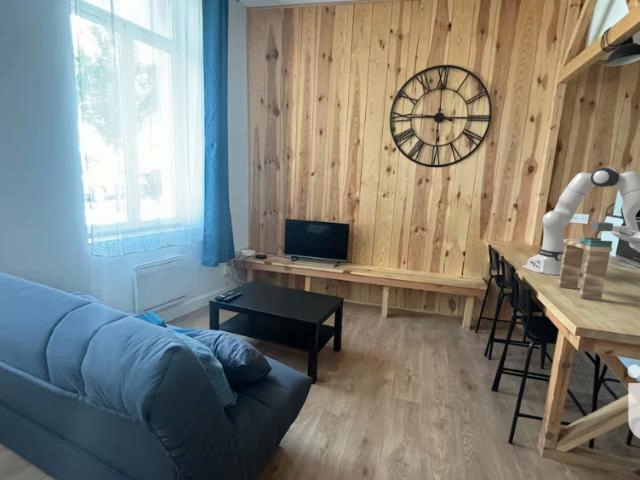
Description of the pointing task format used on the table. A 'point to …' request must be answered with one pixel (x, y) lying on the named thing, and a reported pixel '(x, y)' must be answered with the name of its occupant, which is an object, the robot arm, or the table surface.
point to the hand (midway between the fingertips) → (618, 227)
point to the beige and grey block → (606, 227)
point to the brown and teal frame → (592, 269)
